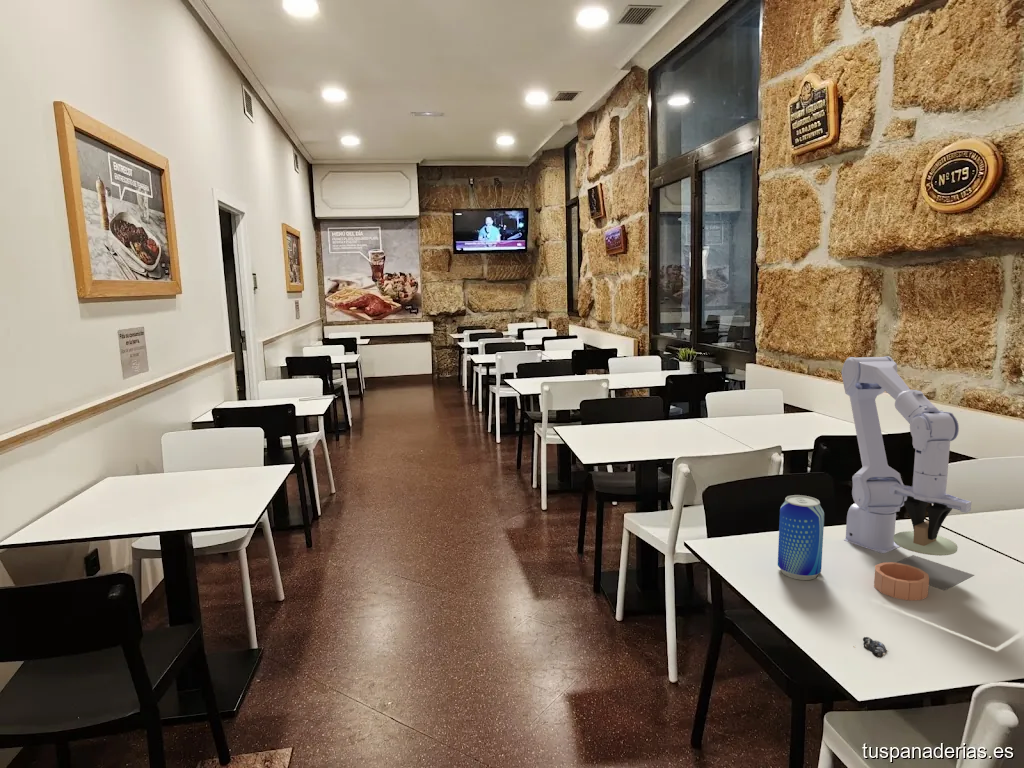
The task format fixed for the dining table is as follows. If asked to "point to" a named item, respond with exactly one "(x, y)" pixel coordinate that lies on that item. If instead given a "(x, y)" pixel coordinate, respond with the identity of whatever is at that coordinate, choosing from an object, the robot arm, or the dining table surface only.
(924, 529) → the lid
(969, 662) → the dining table surface
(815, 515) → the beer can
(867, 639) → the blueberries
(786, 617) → the dining table surface
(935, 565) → the mat
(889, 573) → the bowl
